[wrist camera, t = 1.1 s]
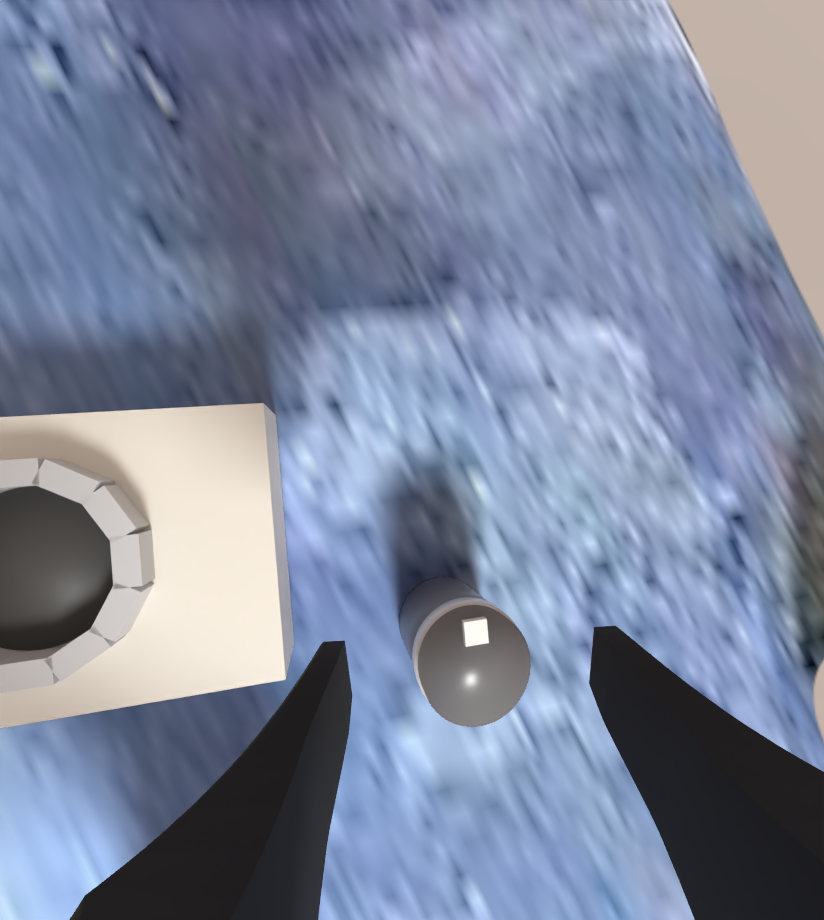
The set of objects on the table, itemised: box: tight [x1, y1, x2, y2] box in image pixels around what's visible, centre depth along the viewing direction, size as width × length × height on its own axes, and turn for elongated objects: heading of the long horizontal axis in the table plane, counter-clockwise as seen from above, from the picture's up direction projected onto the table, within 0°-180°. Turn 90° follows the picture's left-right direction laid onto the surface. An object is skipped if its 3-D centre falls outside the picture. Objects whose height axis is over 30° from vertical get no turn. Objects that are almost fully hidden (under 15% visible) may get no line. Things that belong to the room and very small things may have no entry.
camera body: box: [0, 403, 294, 728], centre depth 18 cm, size 12×18×5 cm, turn 95°
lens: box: [399, 576, 531, 727], centre depth 21 cm, size 5×5×6 cm
